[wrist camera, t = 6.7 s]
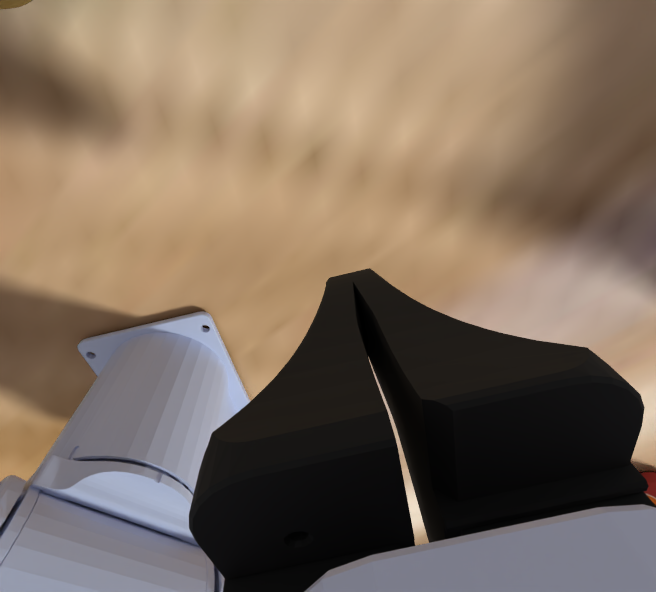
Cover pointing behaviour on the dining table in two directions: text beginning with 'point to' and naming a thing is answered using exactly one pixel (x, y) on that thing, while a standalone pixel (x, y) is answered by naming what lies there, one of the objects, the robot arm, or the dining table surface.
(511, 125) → the dining table surface
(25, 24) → the dining table surface
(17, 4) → the cupcake
